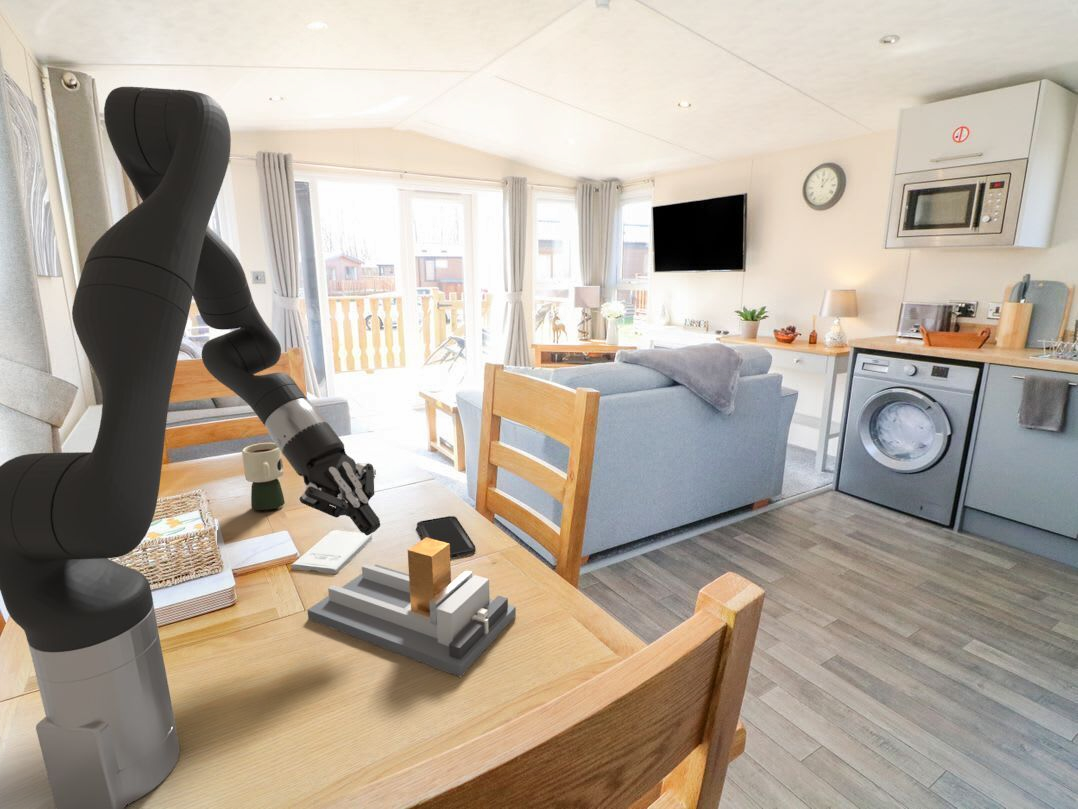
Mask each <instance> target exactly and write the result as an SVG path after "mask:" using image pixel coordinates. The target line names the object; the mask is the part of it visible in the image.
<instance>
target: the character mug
mask: <svg viewBox="0 0 1078 809" xmlns="http://www.w3.org/2000/svg"><path fill="white" fill-rule="evenodd" d="M241 454H242V463H243V469H244V478H245V480H246V481H247V482H251V489H250V490H251V494H250V495H251V496H250V498H251V499H250V500H251V502H250V503H251V504H250V505H251V506H250V508H251V510H254V511H263V510H264V511H265V510H268V511H271V510H273V509H278V508H281V507H283V505H284V504H285V503H286V502H285V497H284V496H285V495H284V494H283V493H284V492H283V489H282V485H281V482H280V480H279V479H278V478H281V477H282V476H283V475H284V462H283V456H282V455H283V453H282V452H281V451H280V449H279V448H278V446H277V445H276V444H275V442H261V443H260V442H259V443H255V444H251V445H247V446H245V447H244V448H242V450H241Z"/></svg>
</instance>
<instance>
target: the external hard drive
mask: <svg viewBox="0 0 1078 809" xmlns="http://www.w3.org/2000/svg"><path fill="white" fill-rule="evenodd" d="M372 540H373V536H372V533H371V534H369V535H365V534H364V533H362V532H354V531H344V530H336V529H335V530H331V531H330V532H328V533H327V534H326V535H325V536H324V537H322V538H321V539H320V540H319V541H317V543H315V544H314V545H313V546H311V548H310V549H308V550H307V551H306V552H305V553H304V554H302V555H301V556H300V557H299V558H297V559H296V560H295V561H294V562H293V563H292V564H291V565H290V566H291V567H290V568H291V570H295V571H296V570H297V571H298V570H299V571H306V572H311V571H313V572H317V573H322V574H323V573H324V574H331V575H332V574H333V575H336V574H338V573H339V572H340V571H341V570H342V569H343V568H344V567H345V566H346V565H347V564H349V563H350V562H351V560H352V559H353V558H354V557H356V556H357V554H359V553H360V551H361V550H363V549H364V548H365V547H366V546H367V545H368V544H369V543H370V542H371V541H372Z"/></svg>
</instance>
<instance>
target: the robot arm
mask: <svg viewBox="0 0 1078 809" xmlns="http://www.w3.org/2000/svg"><path fill="white" fill-rule="evenodd" d="M103 116H104V117H103V119H104V124H105V129H106V130H105V131H106V133H107V136H108V139H109V141H110V144H111V146H112V149H113V151H114V153H115V155H116V158H117V160H118V161H119V164H120V165H121V167H122V168H123V171H124V172H125V174H126V175H127V177H128V178H129V181H130V182H131V184H132V185H133V187H134V189H135V191H136V192H137V194H138V196H139V198H140V199H141V201H142V202H141V203H140V204H138V205H137V206H136V207H135V208H133V209H132V210H130V211H129V212H128V213H127V214H125V215H124V216H123V217H122V218H120V219H118V220H117V221H116V222H115V223H114V224H113V225H112V226H111V227H110V228H108V230H106V231H105V232H104V233H103V235H101V237H99V239H98V240H96V242H95V243H94V244H93V245H92V247H91V248H90V250H89V252H88V254H87V257H86V259H85V262H84V264H83V268H82V272H81V275H80V278H79V280H78V285H77V288H76V292H75V294H74V299H73V303H72V310H71V315H72V322H73V327H74V329H75V332H76V335H77V337H78V340H79V342H80V344H81V346H82V349H83V351H84V354H85V355H86V357H87V359H88V361H89V363H90V365H91V368H93V371H94V374H95V376H96V378H97V381H98V383H99V386H100V390H101V398H102V399H101V400H102V402H101V403H102V406H101V417H100V423H99V427H98V428H99V429H98V432H97V437H96V440H95V443H94V445H93V448H92V450H91V451H89V452H84V451H83V452H78V451H77V452H38V453H37V452H35V453H28V454H27V453H26V454H23V455H18V456H16V457H14V458H10V459H9V460H7V461H5V462H4V463H2V464H1V465H0V593H1V597H2V600H3V603H4V604H3V605H5V608H6V612H7V613H8V615H9V617H10V618H11V619H12V620H13V621H14V623H16V625H18V626H19V627H20V628H22V630H23V631H24V634H25V636H26V641H27V643H28V648H29V652H30V656H31V660H32V663H33V667H34V673H35V676H36V681H37V685H38V689H39V693H40V697H41V701H42V706H43V709H44V710H43V711H44V715H45V717H43V718H42V719H41V720H40V721H38V723H36V725H35V732H36V735H37V739H38V742H39V746H40V750H41V755H42V759H43V761H44V766H45V770H46V773H47V779H48V782H49V785H50V786H49V787H50V789H51V794H52V798H53V803H54V806H55V809H56V808H57V809H125V808H126V805H127V804H128V805H130V804H132V803H133V801H134V802H135V801H137V800H139V799H141V798H143V797H144V796H145V795H147V794H149V793H150V792H152V791H153V790H155V789H156V787H158V786H159V785H160V784H161V783H162V782H163V781H164V780H165V779H166V778H167V777H168V776H169V774H171V772H172V771H173V770H174V768H175V766H176V765H177V762H178V760H179V757H180V753H181V752H180V751H181V750H180V749H181V747H180V744H179V742H180V741H179V737H178V731H177V726H176V719H175V714H174V709H173V706H172V705H173V704H172V698H171V693H170V689H169V688H170V687H169V682H168V676H167V671H166V666H165V660H164V655H163V649H162V643H161V639H160V633H159V629H158V628H159V627H158V622H157V616H156V611H155V605H154V600H153V594H152V589H151V585H150V582H149V580H148V578H147V577H146V576H145V575H144V574H143V573H142V572H141V571H138V570H136V569H134V568H131V567H130V566H126V565H123V564H120V563H118V562H115V561H114V560H111V559H115V558H121V557H123V556H125V555H126V556H127V554H130V553H132V552H133V551H134V550H135V549H136V548H137V547H138V546H140V544H141V543H142V541H143V540H144V538H146V535H147V533H148V531H149V530H150V527H151V525H152V523H153V520H154V515H155V511H156V508H157V503H158V499H159V491H160V487H161V486H160V485H161V477H162V469H163V468H162V467H163V459H164V458H163V457H164V449H165V439H166V430H167V422H168V421H167V420H168V414H169V406H170V398H171V394H172V393H171V392H172V388H173V383H174V378H175V373H176V368H177V363H178V358H179V354H180V350H181V346H182V342H183V339H184V334H185V330H186V326H187V324H188V323H187V322H188V319H189V314H190V310H191V305H192V301H194V302H195V305H196V307H197V311H198V313H199V315H200V318H201V320H202V321H203V323H204V324H206V326H208V327H209V328H212V329H215V330H221V331H223V330H232V331H230V332H227V333H223V334H221V335H219V336H216V337H214V338H211V339H210V340H208V341H206V343H204V345H203V346H202V350H201V359H202V360H201V361H202V363H203V365H204V367H205V369H206V370H207V372H208V373H209V374H211V376H212V377H213V378H214V379H216V380H217V381H218V382H219V383H221V384H222V385H223V386H225V387H226V388H228V389H229V390H230V391H232V392H233V393H234V394H236V395H237V396H238V397H240V399H241V400H243V401H244V402H245V403H246V404H247V405H249V408H251V409H252V411H254V413H255V415H256V416H257V417H258V418H259V420H260V421H261V423H262V424H263V426H264V427H265V428H266V430H267V432H268V434H269V436H270V438H271V440H272V441H273V443H275V444H276V445H277V446H278V448H279V449H280V451H281V454H282V455H283V456H284V457H285V459H286V461H287V462H289V464H290V466H291V467H292V468H293V469H294V471H295V473H296V474H297V475H298V476H299V477H303V483H304V485H305V486H306V487H305V490H304V492H303V493H302V495H301V496H300V497H299V501H300V503H301V504H303V505H306V506H309V507H311V508H312V509H315V510H317V511H319V512H322V513H324V514H326V515H330V517H334V518H339V517H340V516H346V517H349V518H350V519H351V520H352V522H353V523H354V525H355V526H356V528H357V529H358V530H359V532H360V533H364V534H365V535H369V534H371V535H372V534H373V533H375V532H376V531H377V530H378V529H379V528H380V527H381V520H380V518H379V517H378V515H377V513H375V511H374V509H372V507H371V505H370V504H369V501H370V500H371V498H372V497H373V496H375V478H374V477H375V476H374V473H373V468H374V466H373V464H372V463H368V464H366V465H365V466H362V465H358V464H357V463H356V461H355V459H353V458H352V457H350V456H349V455H348V454H347V453H346V449H345V444H344V442H343V441H342V440H341V438H340V437H339V436H338V435H337V433H336V432H335V431H334V429H333V427H332V426H331V425H330V423H328V421H327V419H325V417H324V416H323V415H322V413H321V412H320V411H319V409H318V408H317V407H316V406H315V405H313V404H312V402H311V401H310V400H309V399H308V397H307V396H306V395H305V393H304V392H303V391H302V390H301V388H300V387H299V386H298V384H297V383H296V381H295V380H294V379H293V378H292V377H291V376H290V375H289V374H287V373H285V372H273V373H267V374H259V375H256V374H258V373H261V372H263V371H265V370H267V369H270V368H272V367H274V366H275V365H276V364H278V363H279V361H280V359H281V356H282V355H281V354H282V347H281V344H280V342H279V340H278V339H277V337H276V335H275V334H274V333H273V331H272V330H271V328H270V327H269V326H268V325H267V323H266V322H265V321H264V319H263V317H262V316H261V314H260V312H259V310H258V308H257V307H256V304H255V302H254V300H253V296H252V293H251V292H252V291H251V289H250V287H249V283H248V279H247V277H246V273H245V270H244V268H243V266H242V264H241V262H240V260H239V259H238V257H237V255H236V254H235V252H233V249H231V248H230V247H229V245H228V244H227V243H225V241H224V240H223V239H222V237H221V238H220V236H219V235H218V234H217V233H216V232H215V231H214V230H213V229H211V227H210V226H209V222H210V219H211V216H212V213H213V210H214V208H215V205H216V202H217V200H218V196H219V195H220V190H221V187H222V185H223V183H224V179H225V176H226V173H227V169H228V166H229V162H230V157H231V156H230V155H231V146H232V144H231V143H232V142H231V140H232V139H231V129H230V128H231V127H230V124H229V121H228V120H229V119H228V117H227V114H226V112H225V110H224V109H223V108H222V106H221V105H220V103H218V102H217V101H216V99H215V98H213V97H211V96H209V95H208V94H205V93H203V92H198V91H193V90H188V89H187V90H186V89H173V88H171V89H170V88H159V87H158V88H157V87H143V86H142V87H141V86H119V87H115V88H113V89H112V90H111V91H110V92H108V95H107V97H106V99H105V103H104V109H103ZM131 802H132V803H131ZM129 803H130V804H129ZM128 805H127V806H128ZM124 807H125V808H124Z"/></svg>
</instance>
